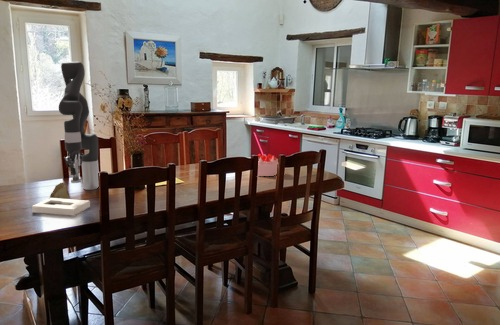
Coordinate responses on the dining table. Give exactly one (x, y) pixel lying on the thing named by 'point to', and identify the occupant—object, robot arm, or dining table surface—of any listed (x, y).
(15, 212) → the dining table surface
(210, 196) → the dining table surface
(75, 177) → the bolt
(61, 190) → the rock
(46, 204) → the keyhole board
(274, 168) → the cake
